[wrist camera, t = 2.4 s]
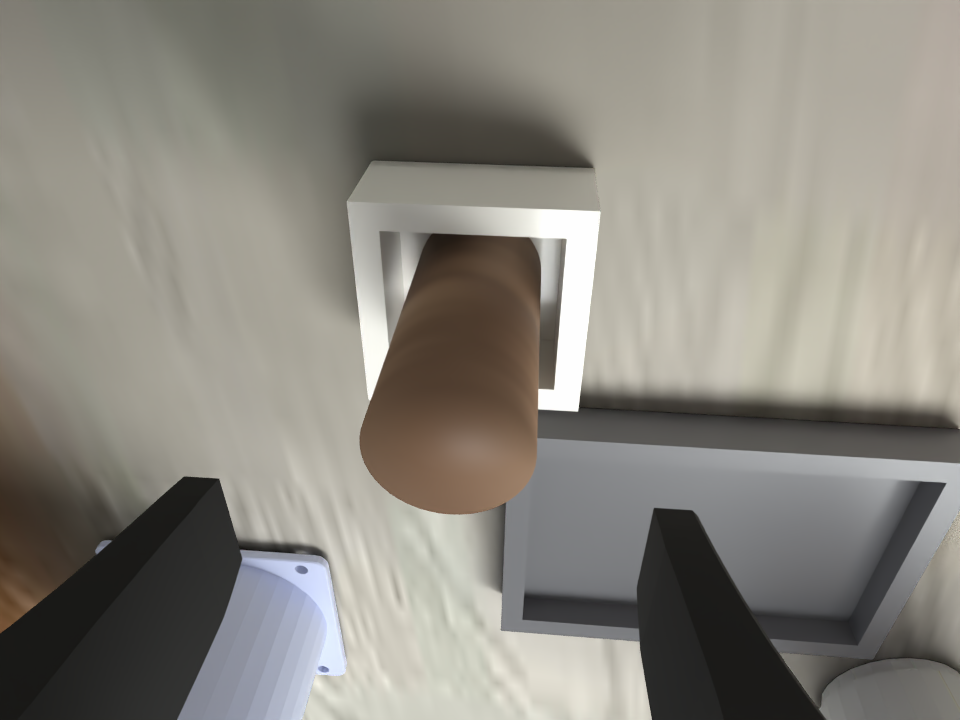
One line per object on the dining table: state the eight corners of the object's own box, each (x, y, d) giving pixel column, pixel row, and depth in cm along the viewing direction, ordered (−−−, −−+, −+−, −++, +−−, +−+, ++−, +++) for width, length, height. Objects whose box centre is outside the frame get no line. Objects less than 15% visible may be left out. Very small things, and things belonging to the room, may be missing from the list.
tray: (503, 595, 28) (501, 630, 27) (510, 403, 23) (508, 436, 21) (857, 622, 27) (873, 659, 26) (959, 429, 22) (986, 465, 20)
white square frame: (387, 343, 22) (368, 399, 19) (372, 160, 18) (346, 201, 16) (575, 353, 21) (578, 411, 19) (594, 168, 18) (600, 211, 16)
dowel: (422, 319, 20) (367, 508, 14) (417, 211, 19) (351, 375, 12) (537, 325, 20) (532, 520, 14) (544, 216, 18) (542, 385, 12)
